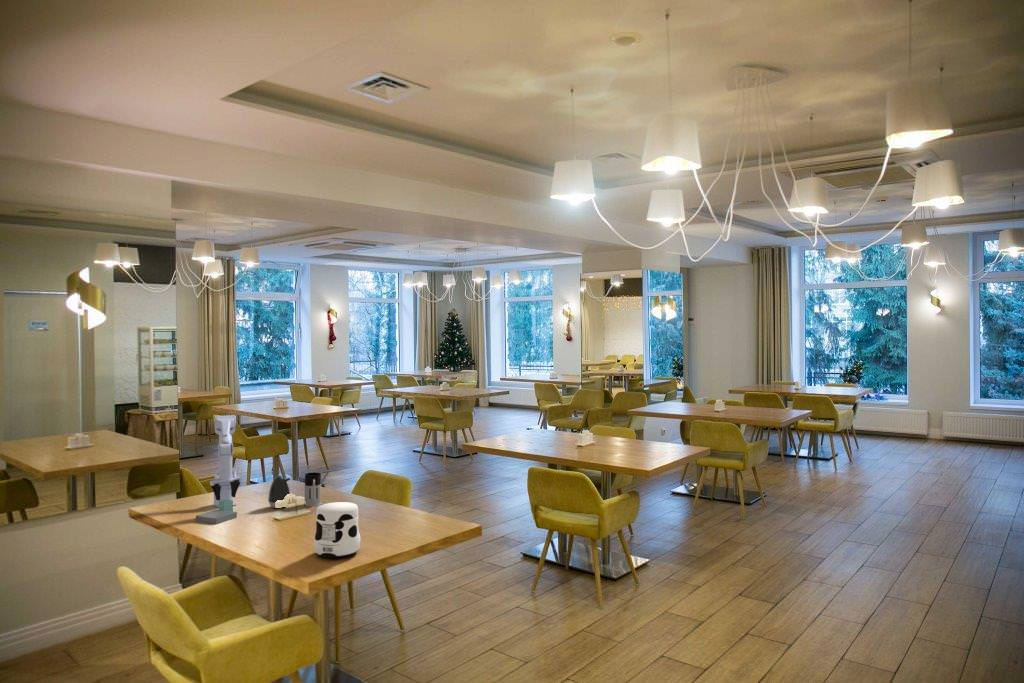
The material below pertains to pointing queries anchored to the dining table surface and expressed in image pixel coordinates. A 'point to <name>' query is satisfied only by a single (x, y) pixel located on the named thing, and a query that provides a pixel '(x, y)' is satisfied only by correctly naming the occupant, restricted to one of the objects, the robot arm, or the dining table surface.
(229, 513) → the slate base
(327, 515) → the milk container
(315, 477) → the glass holder
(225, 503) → the teal block
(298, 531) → the dining table surface
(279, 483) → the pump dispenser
